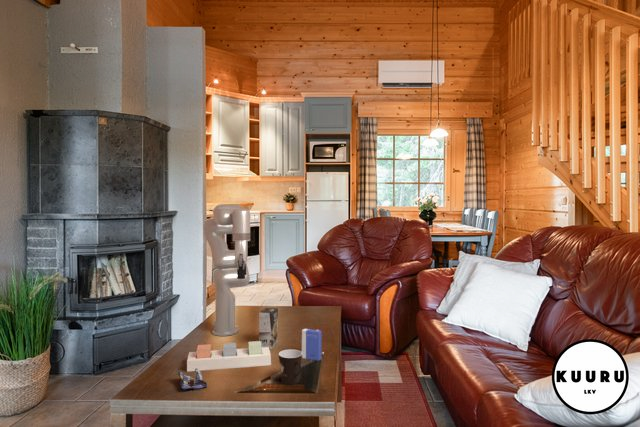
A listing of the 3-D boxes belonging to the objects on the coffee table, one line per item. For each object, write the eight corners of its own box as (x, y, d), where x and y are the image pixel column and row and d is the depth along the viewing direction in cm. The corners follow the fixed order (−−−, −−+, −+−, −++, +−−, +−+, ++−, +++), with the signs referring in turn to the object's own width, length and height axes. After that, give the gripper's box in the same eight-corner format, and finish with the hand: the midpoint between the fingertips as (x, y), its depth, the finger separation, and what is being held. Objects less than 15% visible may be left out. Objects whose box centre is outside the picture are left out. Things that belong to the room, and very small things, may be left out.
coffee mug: (278, 376, 161) (278, 349, 161) (301, 375, 162) (301, 349, 161) (278, 389, 150) (278, 361, 149) (303, 389, 150) (303, 360, 150)
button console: (187, 371, 165) (187, 361, 165) (189, 361, 175) (189, 352, 175) (270, 365, 172) (270, 355, 171) (268, 356, 181) (268, 346, 181)
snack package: (212, 378, 160) (180, 377, 159) (212, 363, 158) (180, 362, 158) (204, 399, 148) (170, 398, 148) (204, 382, 147) (169, 381, 146)
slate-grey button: (223, 359, 170) (223, 347, 170) (223, 355, 175) (223, 343, 175) (236, 358, 171) (236, 346, 171) (236, 354, 176) (236, 342, 176)
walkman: (321, 358, 179) (321, 329, 179) (318, 360, 177) (318, 331, 176) (304, 355, 182) (304, 327, 182) (301, 357, 180) (301, 329, 179)
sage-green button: (248, 357, 172) (248, 345, 172) (248, 353, 177) (248, 341, 177) (261, 356, 173) (261, 345, 173) (260, 352, 178) (260, 341, 178)
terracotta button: (197, 361, 168) (196, 349, 168) (197, 356, 173) (197, 345, 173) (210, 360, 169) (210, 348, 169) (210, 355, 174) (210, 344, 174)
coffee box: (272, 349, 190) (272, 313, 189) (258, 348, 191) (258, 312, 190) (278, 342, 199) (278, 307, 198) (265, 341, 200) (265, 307, 199)
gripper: (234, 236, 195) (234, 274, 195) (230, 239, 178) (231, 280, 178) (251, 236, 196) (251, 273, 196) (249, 238, 179) (249, 280, 179)
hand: (241, 276), depth 187 cm, fingers open, 9 cm apart
